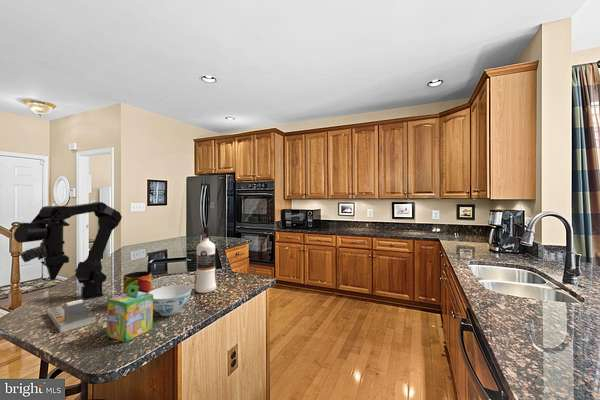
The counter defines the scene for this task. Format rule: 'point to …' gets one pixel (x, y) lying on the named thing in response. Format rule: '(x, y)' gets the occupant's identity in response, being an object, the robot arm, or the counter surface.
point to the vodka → (205, 264)
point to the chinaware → (170, 299)
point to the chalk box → (129, 314)
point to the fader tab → (74, 307)
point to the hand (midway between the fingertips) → (52, 279)
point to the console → (70, 318)
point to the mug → (137, 281)
